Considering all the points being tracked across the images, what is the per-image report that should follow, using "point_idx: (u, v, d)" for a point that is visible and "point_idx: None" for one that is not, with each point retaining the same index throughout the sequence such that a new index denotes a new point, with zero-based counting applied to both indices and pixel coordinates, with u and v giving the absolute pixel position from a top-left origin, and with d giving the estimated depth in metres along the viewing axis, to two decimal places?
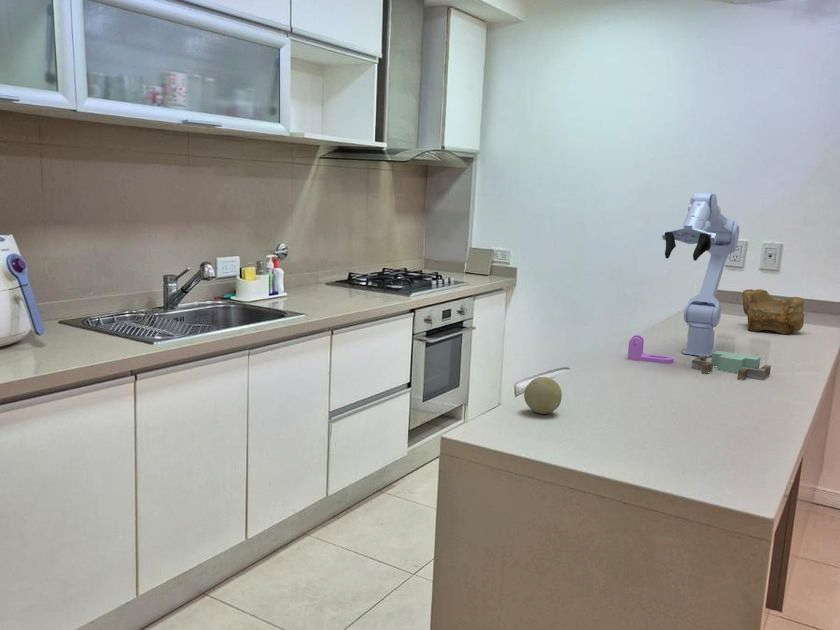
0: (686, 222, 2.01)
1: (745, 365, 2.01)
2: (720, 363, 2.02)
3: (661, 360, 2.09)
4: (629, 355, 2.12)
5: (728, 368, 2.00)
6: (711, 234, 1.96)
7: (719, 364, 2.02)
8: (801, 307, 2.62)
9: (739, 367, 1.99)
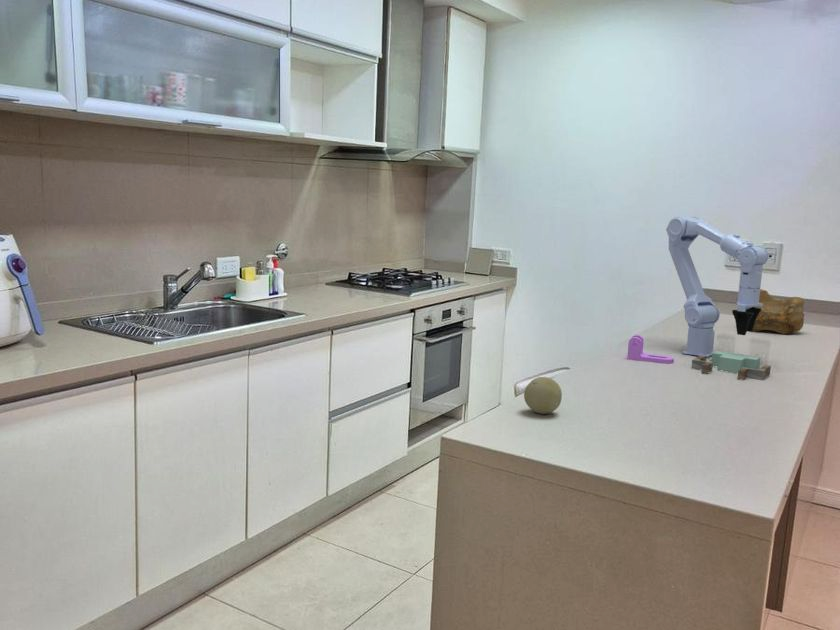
0: (756, 296, 2.06)
1: (745, 365, 2.01)
2: (720, 363, 2.02)
3: (661, 360, 2.09)
4: (629, 355, 2.13)
5: (728, 368, 2.00)
6: None
7: (719, 364, 2.02)
8: (801, 307, 2.62)
9: (739, 367, 1.99)
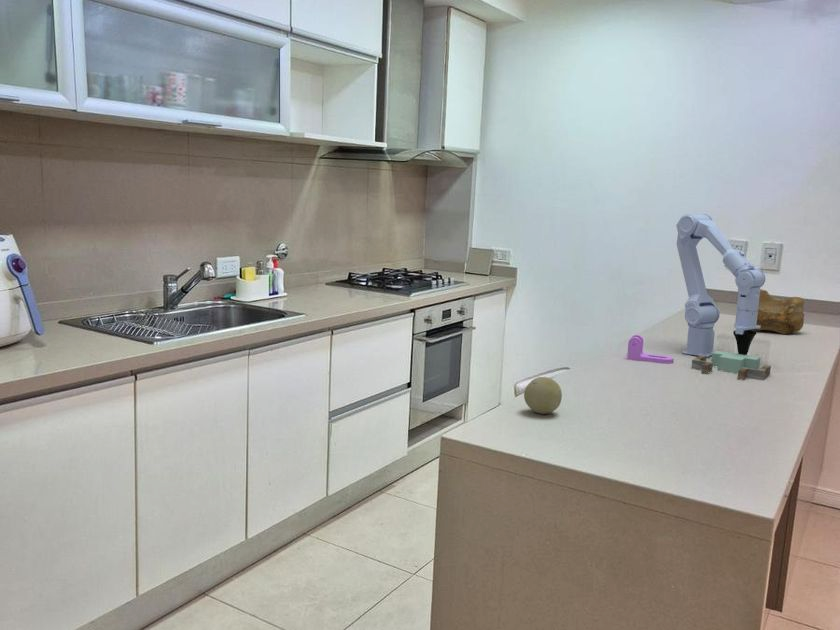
0: (754, 318, 2.07)
1: (745, 365, 2.01)
2: (720, 363, 2.02)
3: (660, 360, 2.09)
4: (629, 355, 2.13)
5: (728, 368, 2.00)
6: None
7: (719, 364, 2.02)
8: (801, 307, 2.62)
9: (739, 367, 1.99)
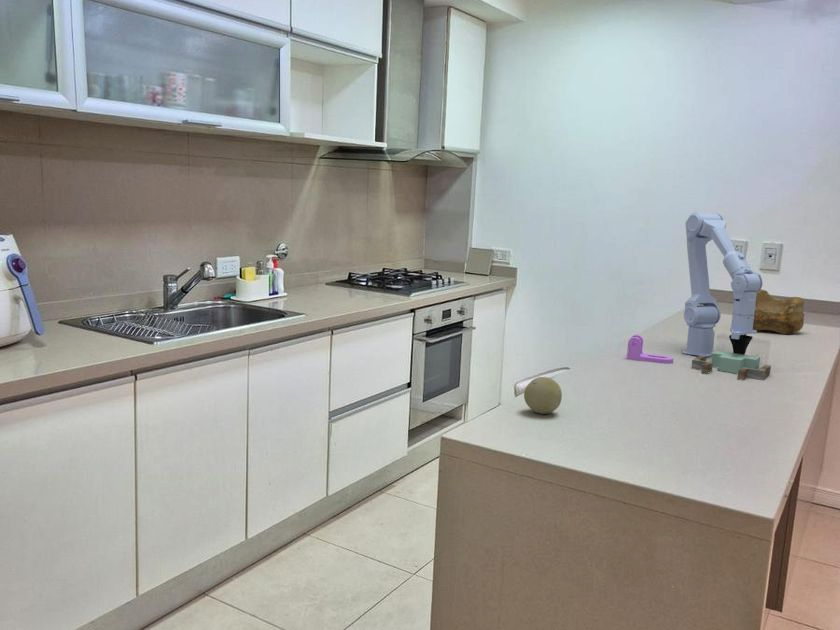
0: (750, 323, 2.03)
1: (745, 365, 2.01)
2: (720, 363, 2.01)
3: (660, 360, 2.09)
4: (628, 355, 2.13)
5: (728, 368, 2.00)
6: None
7: (719, 364, 2.01)
8: (801, 307, 2.62)
9: (739, 367, 1.98)
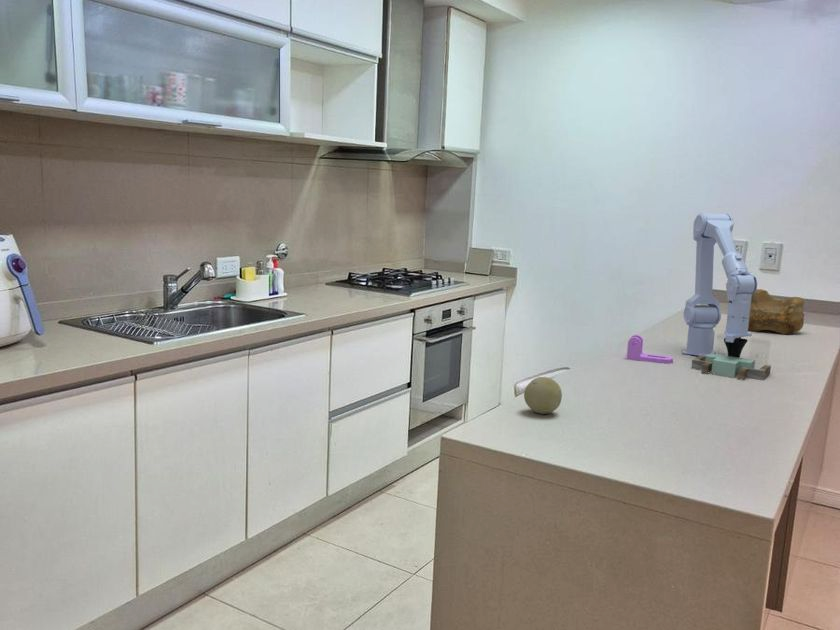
0: (745, 326, 1.99)
1: (739, 368, 1.97)
2: (714, 366, 1.97)
3: (660, 360, 2.09)
4: (628, 355, 2.13)
5: (722, 372, 1.96)
6: None
7: (713, 367, 1.97)
8: (801, 307, 2.62)
9: (733, 371, 1.94)
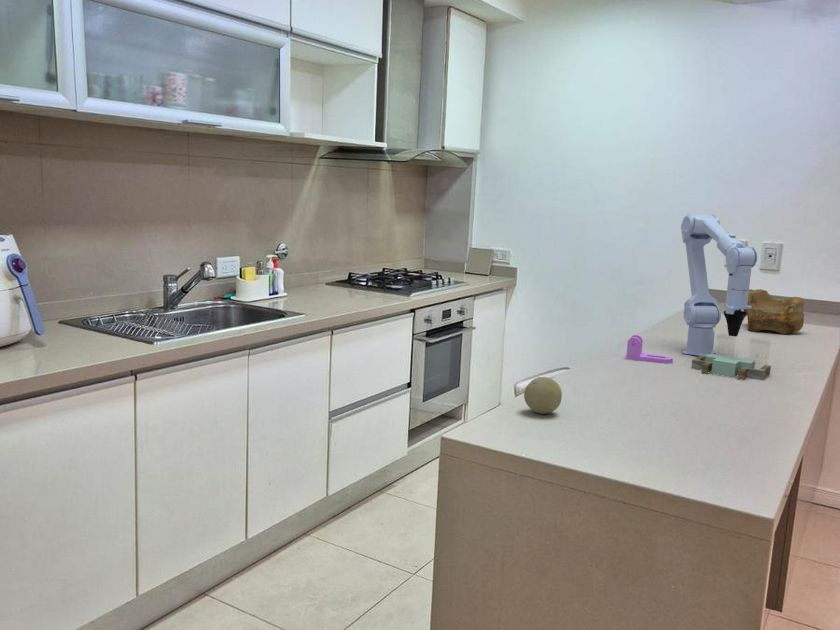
0: (745, 298, 2.01)
1: None
2: (714, 366, 1.97)
3: (660, 360, 2.09)
4: (628, 355, 2.13)
5: (722, 372, 1.96)
6: None
7: (713, 368, 1.97)
8: (801, 307, 2.62)
9: (733, 371, 1.94)
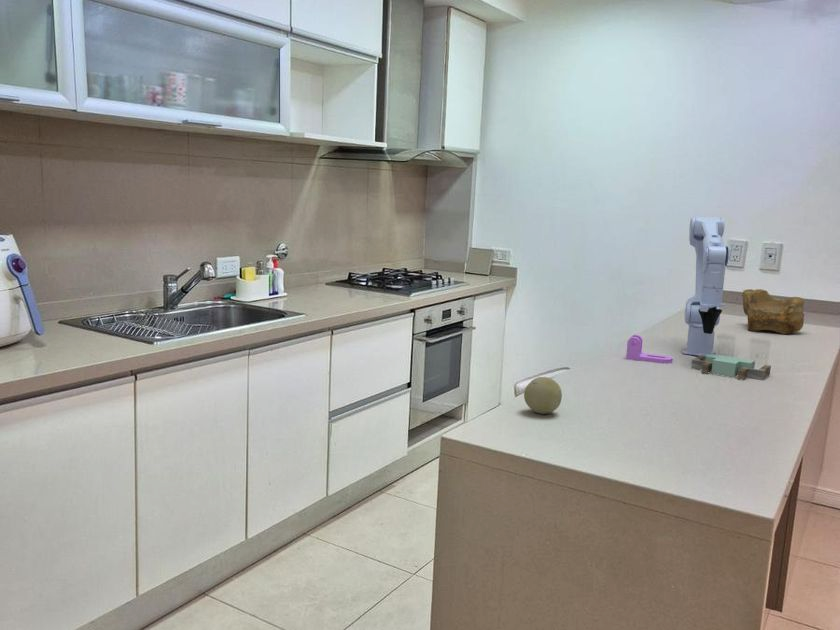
0: (719, 296, 2.03)
1: None
2: (714, 366, 1.97)
3: (659, 360, 2.09)
4: (628, 355, 2.13)
5: (722, 372, 1.96)
6: None
7: (713, 368, 1.97)
8: (801, 307, 2.62)
9: (733, 371, 1.94)
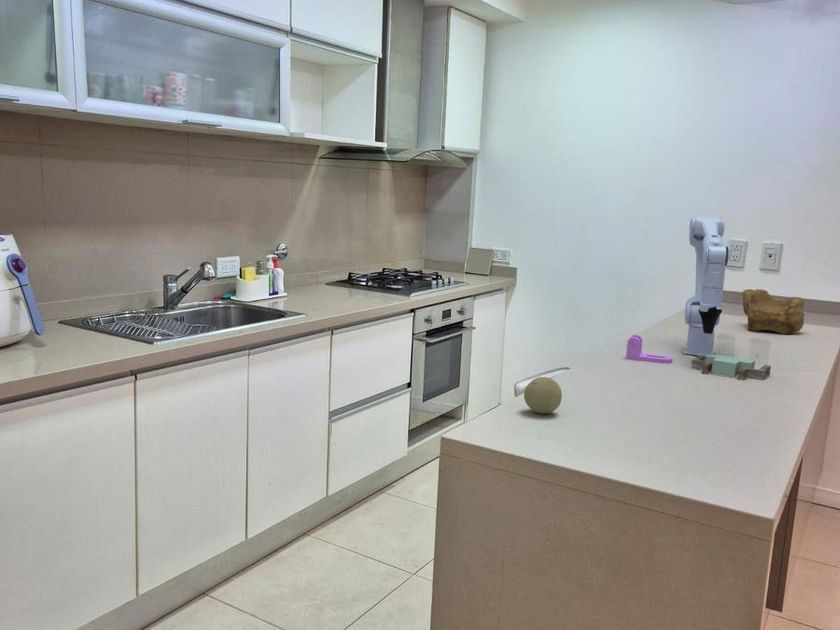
0: (719, 296, 2.03)
1: None
2: (714, 366, 1.97)
3: (659, 360, 2.09)
4: (627, 355, 2.13)
5: (722, 372, 1.96)
6: None
7: (713, 368, 1.97)
8: (801, 307, 2.62)
9: (733, 371, 1.94)
